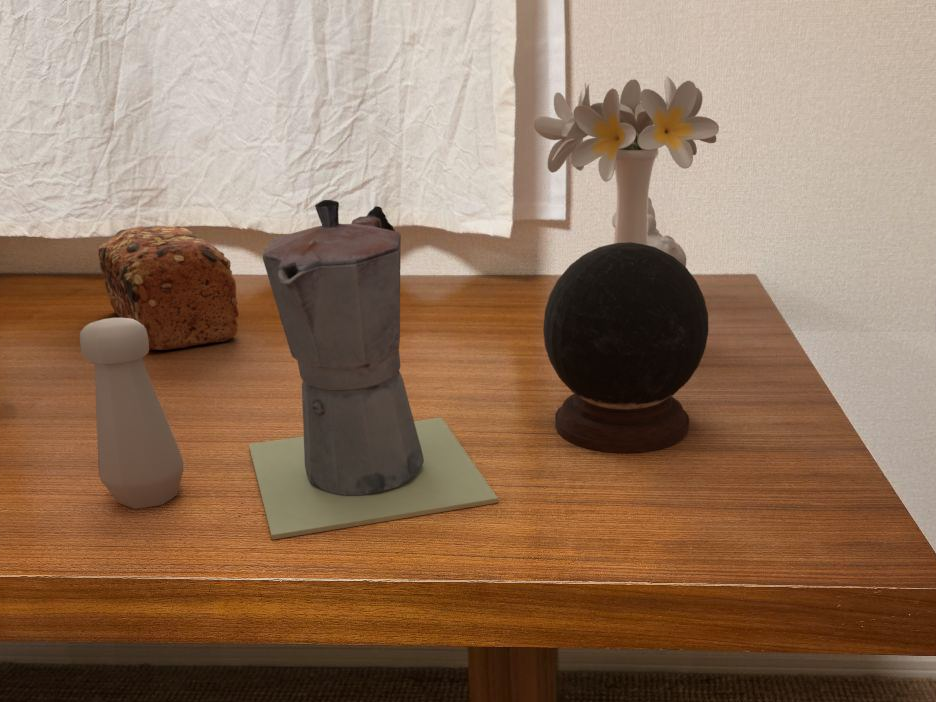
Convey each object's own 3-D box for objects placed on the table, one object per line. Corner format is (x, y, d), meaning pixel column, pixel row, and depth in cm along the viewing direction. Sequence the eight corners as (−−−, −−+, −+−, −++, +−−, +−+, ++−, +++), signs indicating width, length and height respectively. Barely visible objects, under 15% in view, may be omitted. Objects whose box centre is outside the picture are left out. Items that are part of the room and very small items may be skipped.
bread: (246, 340, 105) (231, 243, 100) (139, 358, 100) (118, 256, 95) (201, 297, 119) (186, 210, 114) (106, 311, 114) (86, 220, 109)
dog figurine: (637, 279, 125) (641, 189, 120) (691, 306, 115) (697, 209, 110) (599, 283, 123) (601, 193, 118) (650, 311, 113) (654, 213, 108)
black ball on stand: (510, 428, 84) (507, 246, 77) (608, 385, 93) (613, 218, 85) (637, 473, 77) (647, 276, 69) (730, 422, 85) (748, 242, 78)
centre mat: (272, 540, 68) (271, 535, 68) (249, 448, 81) (248, 443, 81) (498, 502, 73) (498, 497, 72) (442, 421, 86) (441, 417, 86)
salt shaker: (92, 495, 74) (49, 322, 67) (166, 471, 77) (131, 304, 71) (128, 522, 70) (86, 341, 64) (203, 496, 74) (171, 322, 67)
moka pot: (259, 507, 71) (212, 216, 61) (346, 423, 84) (319, 173, 74) (385, 522, 69) (358, 224, 59) (455, 434, 82) (442, 178, 72)
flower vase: (575, 315, 112) (578, 67, 100) (729, 344, 103) (753, 75, 91) (508, 347, 102) (502, 78, 90) (671, 382, 94) (689, 88, 81)
